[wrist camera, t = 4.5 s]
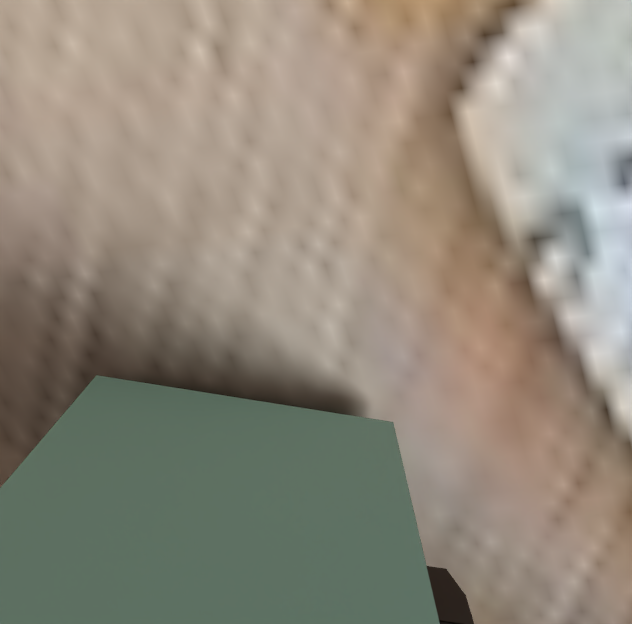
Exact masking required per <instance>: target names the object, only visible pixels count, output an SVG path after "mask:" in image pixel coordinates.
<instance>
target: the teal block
mask: <svg viewBox="0 0 632 624" xmlns="http://www.w3.org/2000/svg"><path fill="white" fill-rule="evenodd" d="M0 624H440V623H439V618H438V614H437V610H436V605H435V601H434V597H433V592H432V588H431V584H430V579H429V575H428V571H427V566H426V562H425V558H424V553H423V549H422V545H421V541H420V536H419V532H418V528H417V523H416V519H415V515H414V510H413V506H412V502H411V497H410V493H409V489H408V484H407V480H406V476H405V471H404V467H403V463H402V458H401V454H400V450H399V445H398V441H397V437H396V433H395V428H394V424H393V422H389V421H382V420H376V419H370V418H363V417H357V416H351V415H344V414H338V413H332V412H325V411H319V410H313V409H307V408H300V407H294V406H288V405H281V404H275V403H269V402H262V401H256V400H250V399H243V398H237V397H231V396H225V395H218V394H212V393H206V392H199V391H193V390H187V389H180V388H174V387H168V386H161V385H155V384H149V383H143V382H136V381H130V380H124V379H117V378H111V377H105V376H98V375H96V376H95V378H94V379H93V380H92V381H91V382H90V383H89V385H88V386H87V387H86V388H85V389H84V390H83V392H82V393H81V394H80V395H79V396H78V397H77V399H76V400H75V401H74V402H73V403H72V404H71V406H70V407H69V408H68V409H67V410H66V411H65V413H64V414H63V415H62V416H61V417H60V419H59V420H58V421H57V422H56V423H55V424H54V426H53V427H52V428H51V429H50V430H49V431H48V433H47V434H46V435H45V436H44V437H43V438H42V440H41V441H40V442H39V443H38V444H37V445H36V447H35V448H34V449H33V450H32V451H31V452H30V454H29V455H28V456H27V457H26V458H25V460H24V461H23V462H22V463H21V464H20V465H19V467H18V468H17V469H16V470H15V471H14V472H13V474H12V475H11V476H10V477H9V478H8V479H7V481H6V482H5V483H4V484H3V485H2V486H1V488H0Z"/></svg>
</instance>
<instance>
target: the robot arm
mask: <svg viewBox="0 0 632 624" xmlns="http://www.w3.org/2000/svg"><path fill="white" fill-rule="evenodd" d="M420 541H421V540H420ZM427 571H428V575H429V579H430V584H431V588H432V592H433V597H434V601H435V605H436V610H437V614H438V618H439V623H440V624H474V622H473V619H472V615H471V612H470V609H469V605H468V602H467V599H466V595H465V594H464V593H463V591H462V590H461V589H460V587H459V586H458V585H457V583H456V582H455V580H454V579H453V578H452V576H451V575H450V574H449V572H448V571H447V569H443V568H436V567H430V566H427Z"/></svg>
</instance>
